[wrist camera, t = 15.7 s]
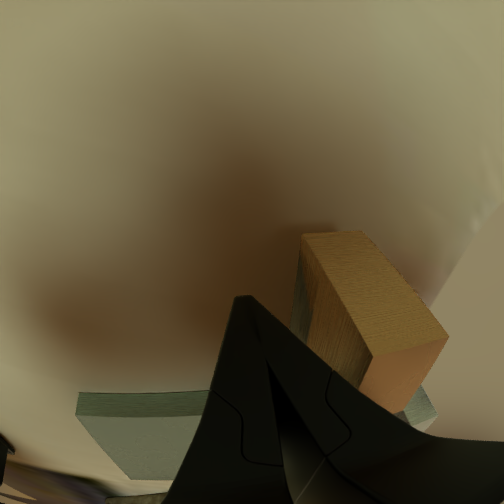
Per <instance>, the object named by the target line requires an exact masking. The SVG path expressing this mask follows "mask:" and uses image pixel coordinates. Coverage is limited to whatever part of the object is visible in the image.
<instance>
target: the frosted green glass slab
mask: <svg viewBox="0 0 504 504" xmlns="http://www.w3.org/2000/svg"><path fill="white" fill-rule="evenodd" d="M208 392H209V391H198V392H182V393H159V394H95V393H79V396H78V401H77V407H76V413H75V416H76V417H77V418H78V420H79V421H80V422H81V423H82V425H83V426H84V427H85V429H86V430H87V431H88V432H89V433H90V435H91V436H92V437H93V438H94V440H95V441H96V442H97V443H98V444H99V445H100V447H101V448H102V449H103V450H104V451H105V452H106V454H107V455H108V456H109V457H110V458H111V459H112V460H113V461H114V462H115V463H116V465H117V466H118V467H119V468H120V469H121V470H122V471H123V472H124V473H125V474H126V475H127V476H128V477H129V478H130V479H131V480H174V479H175V477H176V475H177V472H178V470H179V468H180V466H181V464H182V461H183V459H184V457H185V455H186V453H187V451H188V448H189V446H190V444H191V442H192V440H193V437H194V435H195V432H196V430H197V427H198V425H199V422H200V419H201V416H202V413H203V410H204V407H205V404H206V400H207V396H208ZM394 415H395V416H397V417H398V418H400V419H401V420H403V421H404V422H406V423H407V424H409V425H411V426H412V427H414V428H416V429H417V430H419V431H422V432H424V431H425V430H426V429H427V428H428V427H429V426H430V425H431V423H432V422H433V421H434V420H435V419H436V417H438V414H437V412H436V410H435V408H434V406H433V405H432V403H431V401H430V399H429V398H428V396H427V394H426V392H425V391H424V389H423V387H422V386H421V384H420V386H419V388H418V389H417V391H416V392H415V393H414V395H413V396H412V398H411V399H410V401H409V402H408V404H407V405H406V406H405V408H404V409H403V411H400V412H397V413H394Z"/></svg>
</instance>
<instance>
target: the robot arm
mask: <svg viewBox="0 0 504 504" xmlns="http://www.w3.org/2000/svg"><path fill="white" fill-rule="evenodd" d="M7 453H8V454H12V455H15V450H14V449H13V448H12V447H11V446H10V445H8V444H7V443H6V442H5V441H4V440H3V439H2V438H1V437H0V486H1V485H2V482H3V475H4V469H5V464H6V458H7ZM0 504H5V503H1V502H0ZM160 504H504V442H498V441H478V440H477V441H476V440H464V439H453V438H443V437H436V436H432V435H429V434H426V433H424V432H422V431H419V430H417V429H416V428H414V427H412V426H411V425H409V424H407V423H406V422H404V421H403V420H401V419H400V418H398V417H397V416H395V415H394V414H392V413H391V412H389V411H388V410H386V409H385V408H383V407H382V406H380V405H379V404H377V403H376V402H374V401H373V400H371V399H370V398H369V397H367V396H366V395H364V394H363V393H362V392H360V391H359V390H358V389H356V388H355V387H354V386H353V385H351V384H350V383H349V382H348V381H347V380H345V379H344V378H343V377H342V376H341V375H340V374H338V373H337V372H336V371H335V370H333V371H332V368H331V367H330V366H329V365H328V364H327V363H326V362H325V361H324V360H322V359H321V358H320V357H319V356H318V355H317V354H316V353H315V352H313V351H312V350H311V349H310V348H309V347H308V346H307V345H306V344H304V343H303V342H302V341H301V340H300V339H299V338H298V337H297V336H296V335H294V334H293V333H292V332H291V331H290V330H289V329H288V328H287V327H286V326H285V325H283V324H282V323H281V322H280V321H279V320H278V319H277V318H276V317H275V316H274V315H273V314H271V313H270V312H269V311H268V310H267V309H266V308H265V307H264V306H263V305H262V304H261V303H259V302H258V301H257V300H256V299H255V298H254V297H253V296H251V295H244V296H236V297H235V298H234V300H233V304H232V308H231V311H230V315H229V319H228V322H227V326H226V330H225V334H224V337H223V341H222V345H221V348H220V352H219V356H218V360H217V363H216V367H215V371H214V375H213V378H212V382H211V386H210V391H209V392H208V396H207V400H206V404H205V407H204V410H203V413H202V416H201V419H200V422H199V425H198V427H197V430H196V432H195V435H194V437H193V440H192V442H191V444H190V446H189V448H188V451H187V453H186V455H185V457H184V459H183V461H182V464H181V466H180V468H179V470H178V472H177V475H176V477H175V479H174V481H173V483H172V485H171V487H170V489H169V490H168V492H167V494H166V496H165V497H164V499H163V500H162V502H161V503H160Z"/></svg>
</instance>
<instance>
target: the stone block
mask: <svg viewBox="0 0 504 504" xmlns="http://www.w3.org/2000/svg"><path fill="white" fill-rule="evenodd" d="M166 494H167V493H160V494H152V495H142V496H127V497H110V498H107V499H106V501H105V503H106V504H160V503H161V502H162V500H163V499H164V497H165V496H166Z"/></svg>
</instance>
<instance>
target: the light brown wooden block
mask: <svg viewBox="0 0 504 504" xmlns="http://www.w3.org/2000/svg"><path fill="white" fill-rule="evenodd" d="M289 330H290V331H291V332H292V333H293V334H294V335H296V336H297V337H298V338H299V339H300V340H301V341H302V342H303V343H304V344H306V345H307V346H308V347H309V348H310V349H311V350H312V351H313V352H315V353H316V354H317V355H318V356H319V357H320V358H321V359H322V360H324V361H325V362H326V363H327V364H328V365H329V366H330V367H331V368H332V371H333V370H335V371H336V372H337V373H338V374H340V375H341V376H342V377H343V378H344V379H345V380H347V381H348V382H349V383H350V384H351V385H353V386H354V387H355V388H356V389H358V390H359V391H360V392H362V393H363V394H364V395H366V396H367V397H369V398H370V399H371V400H373V401H374V402H376V403H377V404H379V405H380V406H382V407H383V408H385V409H386V410H388V411H389V412H391V413H392V414H394V413H397V412H400V411H403V409H404V408H405V406H406V405H407V404H408V402H409V401H410V399H411V398H412V396H413V395H414V393H415V392H416V391H417V389H418V388H419V386H420V384H421V383H422V381H423V380H424V378H425V377H426V375H427V373H428V372H429V370H430V369H431V367H432V366H433V364H434V362H435V361H436V359H437V357H438V356H439V354H440V352H441V350H442V349H443V347H444V345H445V343H446V342H447V340H448V338H449V335H448V334H447V333H446V331H445V330H444V329H443V327H442V326H441V325H440V323H439V322H438V321H437V319H436V318H435V317H434V316H433V314H432V313H431V312H430V310H429V309H428V308H427V307H426V305H425V304H424V303H423V302H422V300H421V299H420V298H419V297H418V295H417V294H416V293H415V292H414V290H413V289H412V288H411V287H410V286H409V284H408V283H407V282H406V281H405V279H404V278H403V277H402V276H401V275H400V273H399V272H398V271H397V270H396V269H395V268H394V266H393V265H392V264H391V263H390V262H389V261H388V259H387V258H386V257H385V256H384V255H383V254H382V253H381V251H380V250H379V249H378V248H377V247H376V246H375V245H374V243H373V242H372V241H371V240H370V239H369V238H368V237H367V236H366V235H365V233H364V232H363V231H343V232H323V233H304V234H302V236H301V245H300V253H299V261H298V269H297V277H296V285H295V292H294V300H293V307H292V314H291V321H290V328H289Z"/></svg>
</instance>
